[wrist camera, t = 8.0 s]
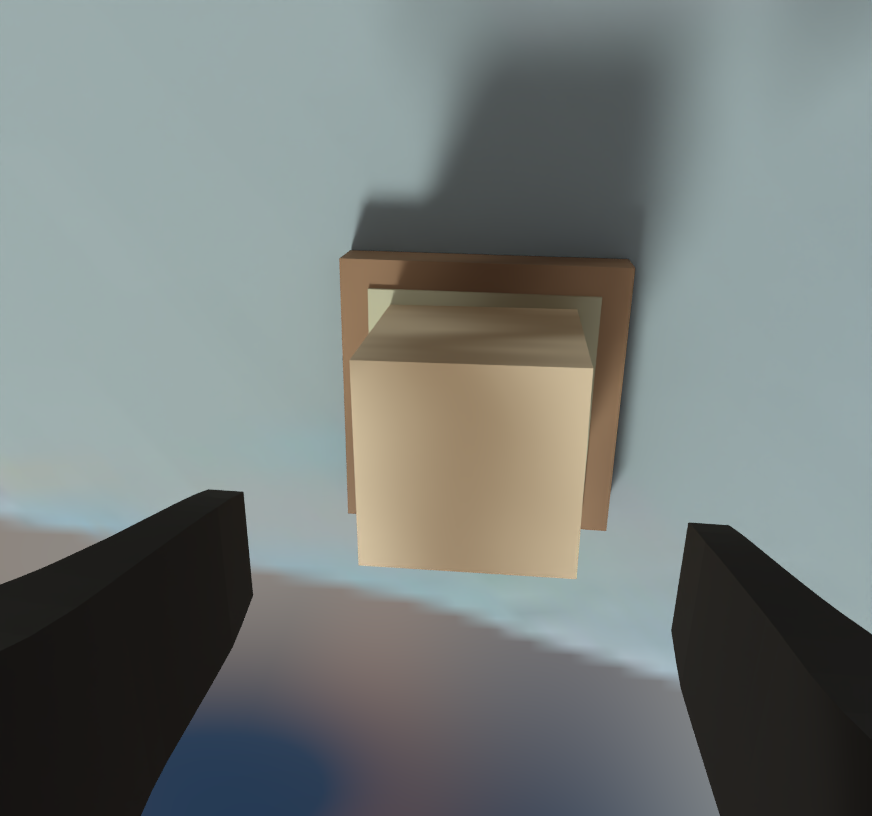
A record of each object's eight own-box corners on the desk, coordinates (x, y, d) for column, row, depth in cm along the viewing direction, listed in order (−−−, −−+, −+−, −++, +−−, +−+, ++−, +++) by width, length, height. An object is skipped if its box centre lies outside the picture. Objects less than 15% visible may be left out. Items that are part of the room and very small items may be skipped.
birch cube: (577, 309, 18) (593, 368, 13) (565, 479, 19) (576, 579, 15) (390, 304, 18) (349, 360, 14) (394, 470, 20) (358, 565, 16)
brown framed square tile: (628, 259, 18) (635, 268, 17) (601, 508, 21) (606, 532, 20) (350, 250, 19) (338, 258, 18) (357, 492, 22) (347, 515, 20)
